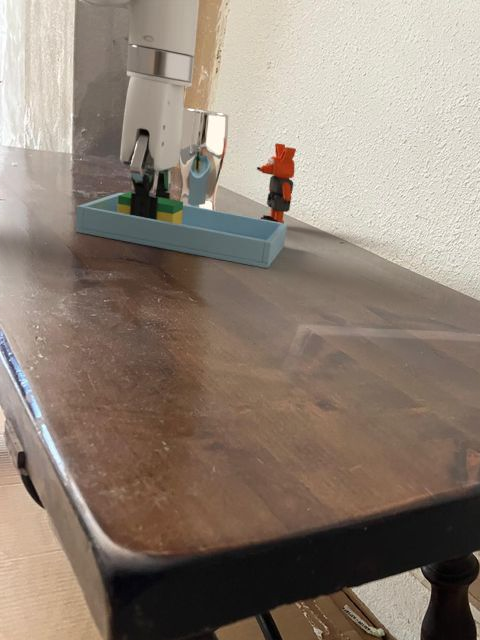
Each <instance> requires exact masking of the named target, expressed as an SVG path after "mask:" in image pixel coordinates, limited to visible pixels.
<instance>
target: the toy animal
mask: <svg viewBox="0 0 480 640" xmlns="http://www.w3.org/2000/svg"><path fill="white" fill-rule="evenodd" d="M274 149H275V151H274V154H275V156H273V155H272V156H271V157H268V159H267V162H266V163H265V165H264V164H263V165H261V167H260V166H257V167H256V170H257V171H259V172H261V173H262V174H265V175H270V177H269V178H270V179H269V185H268V191H269V192H268V194H267V199H266V205H267V207H268V208H269V209H270V215H265V214H263V216H260V219H263V220H268V221H274V222H279V223H284V224H285V221H284V214H285V213H288V212H289V211H290V208H291V203H292V201H291V200H292V194H293V188H294V181H293V180H292V179H293V178H294V177H295V172H296V171H295V160H294V157H295V154H296V152H297V148H295V147H288V146H286V144H284V143H278V142H275V144H274Z"/></svg>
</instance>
